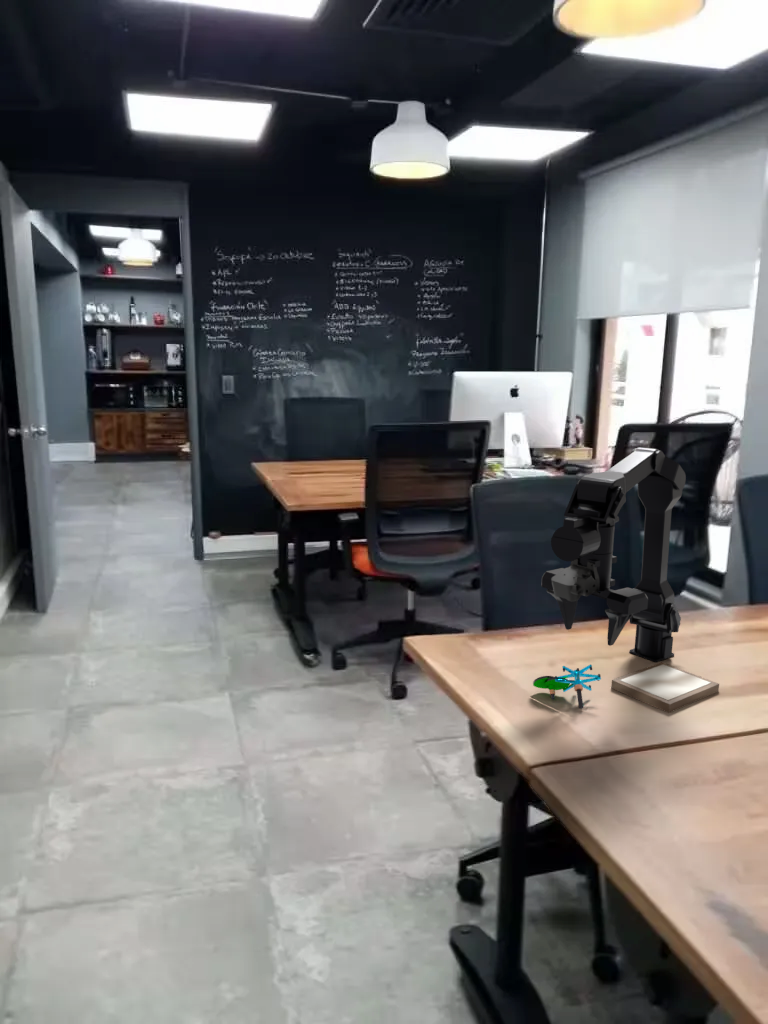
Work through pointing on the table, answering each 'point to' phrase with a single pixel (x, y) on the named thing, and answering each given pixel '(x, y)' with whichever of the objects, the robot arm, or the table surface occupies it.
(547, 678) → the stick construction toy
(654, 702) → the walnut framed pale panel
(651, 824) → the table surface
